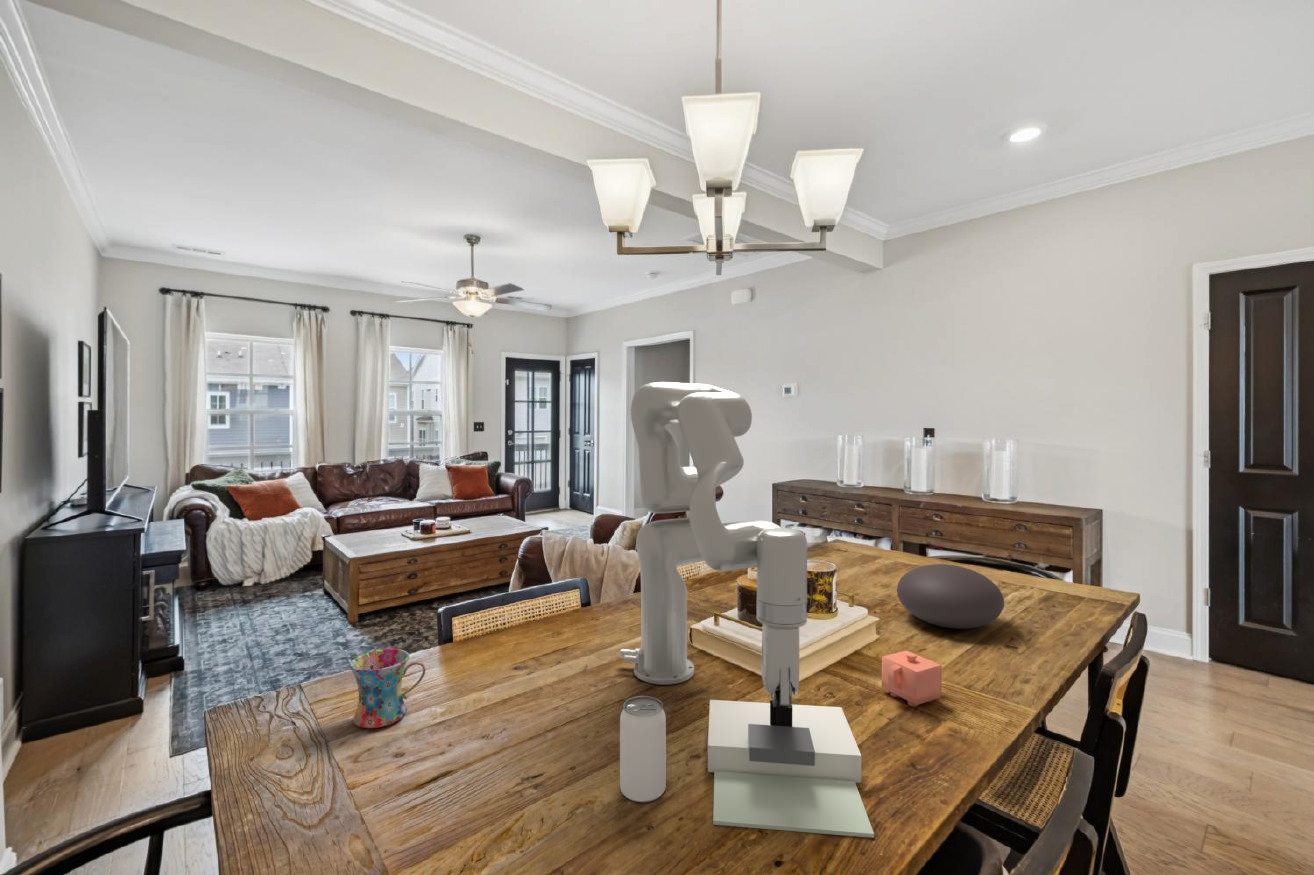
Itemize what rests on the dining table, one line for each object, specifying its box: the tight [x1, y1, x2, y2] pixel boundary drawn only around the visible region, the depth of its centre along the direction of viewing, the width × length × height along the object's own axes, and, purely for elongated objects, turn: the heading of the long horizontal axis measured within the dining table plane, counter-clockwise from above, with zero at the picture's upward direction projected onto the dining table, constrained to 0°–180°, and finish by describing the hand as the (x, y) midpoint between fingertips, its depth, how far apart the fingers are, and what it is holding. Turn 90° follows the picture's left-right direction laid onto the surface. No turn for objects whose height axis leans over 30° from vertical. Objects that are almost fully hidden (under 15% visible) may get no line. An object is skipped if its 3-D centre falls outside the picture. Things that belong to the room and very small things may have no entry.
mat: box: [712, 771, 875, 839], centre depth 77 cm, size 20×10×1 cm, turn 83°
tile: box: [748, 724, 815, 766], centre depth 83 cm, size 9×6×2 cm, turn 83°
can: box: [619, 695, 667, 804], centre depth 80 cm, size 6×6×12 cm
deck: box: [707, 699, 862, 784], centre depth 90 cm, size 22×14×4 cm, turn 83°
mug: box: [349, 648, 427, 729], centre depth 100 cm, size 12×9×11 cm
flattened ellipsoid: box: [896, 563, 1005, 630], centre depth 147 cm, size 25×25×15 cm
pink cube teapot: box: [881, 649, 943, 708], centre depth 108 cm, size 8×12×8 cm, turn 116°
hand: (781, 728), depth 87 cm, fingers closed
